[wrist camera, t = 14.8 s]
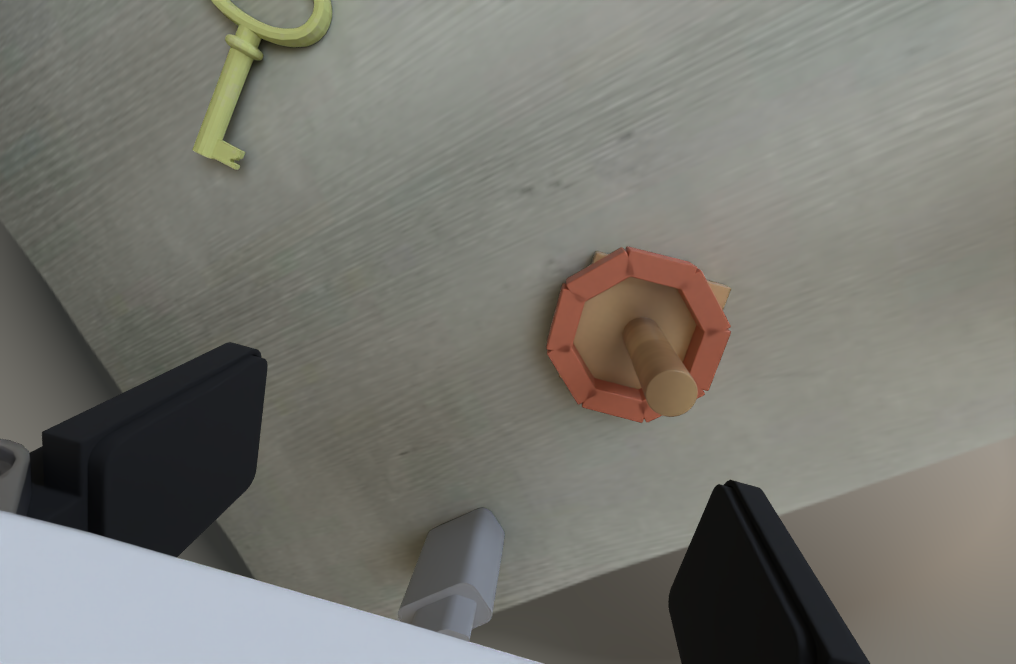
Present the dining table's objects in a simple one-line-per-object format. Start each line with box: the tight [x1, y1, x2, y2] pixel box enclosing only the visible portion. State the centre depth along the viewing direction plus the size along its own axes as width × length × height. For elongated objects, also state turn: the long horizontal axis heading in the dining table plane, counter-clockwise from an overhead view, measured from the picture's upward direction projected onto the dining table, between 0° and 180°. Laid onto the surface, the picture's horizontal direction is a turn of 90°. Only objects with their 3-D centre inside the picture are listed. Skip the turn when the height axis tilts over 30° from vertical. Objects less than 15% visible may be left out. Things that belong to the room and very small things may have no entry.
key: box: [193, 0, 332, 170], centre depth 29 cm, size 7×12×2 cm, turn 171°
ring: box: [546, 246, 731, 423], centre depth 30 cm, size 10×10×2 cm
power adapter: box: [398, 508, 505, 642], centre depth 32 cm, size 3×5×12 cm, turn 120°
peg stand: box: [559, 251, 731, 417], centre depth 27 cm, size 8×8×10 cm
